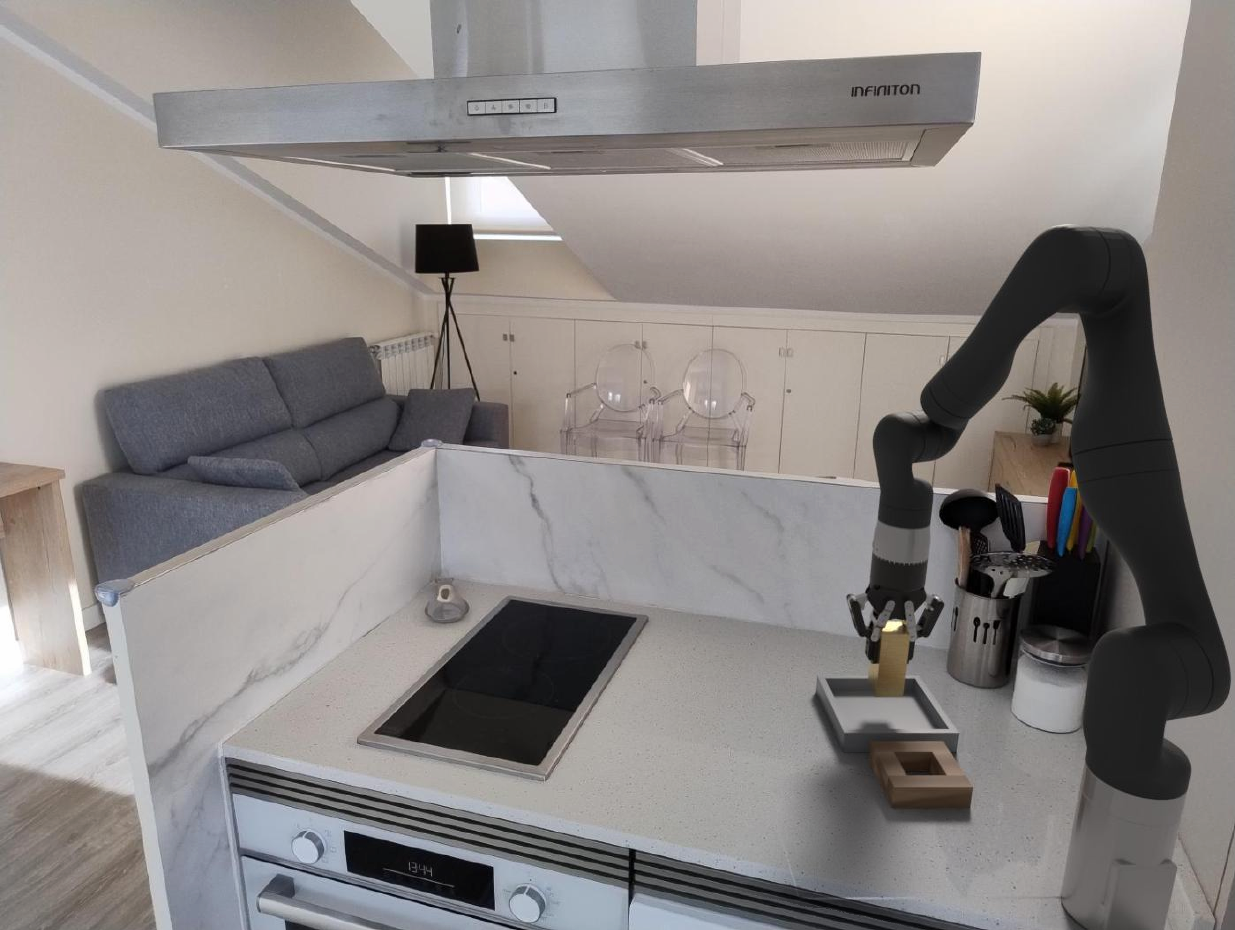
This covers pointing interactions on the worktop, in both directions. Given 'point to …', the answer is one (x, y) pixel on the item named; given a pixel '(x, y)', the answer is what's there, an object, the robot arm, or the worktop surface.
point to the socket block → (919, 790)
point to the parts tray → (882, 713)
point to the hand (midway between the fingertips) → (888, 660)
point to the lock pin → (890, 662)
